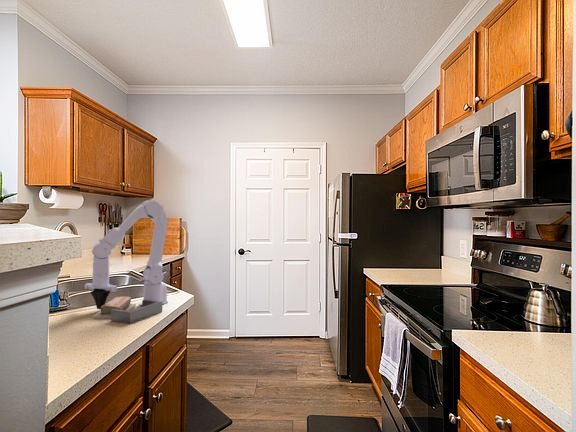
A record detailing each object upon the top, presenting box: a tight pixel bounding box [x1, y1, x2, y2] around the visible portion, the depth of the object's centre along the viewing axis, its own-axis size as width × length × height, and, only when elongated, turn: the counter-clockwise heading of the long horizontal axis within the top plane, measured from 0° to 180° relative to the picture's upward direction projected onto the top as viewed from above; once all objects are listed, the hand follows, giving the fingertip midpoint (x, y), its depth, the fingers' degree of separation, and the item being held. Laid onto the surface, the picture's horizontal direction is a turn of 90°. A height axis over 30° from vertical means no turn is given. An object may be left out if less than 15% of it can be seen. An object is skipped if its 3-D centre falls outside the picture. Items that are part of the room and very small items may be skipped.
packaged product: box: [92, 296, 137, 320], centre depth 139 cm, size 18×5×10 cm
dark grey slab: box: [110, 299, 163, 325], centre depth 134 cm, size 17×8×4 cm, turn 161°
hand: (100, 308), depth 140 cm, fingers closed
